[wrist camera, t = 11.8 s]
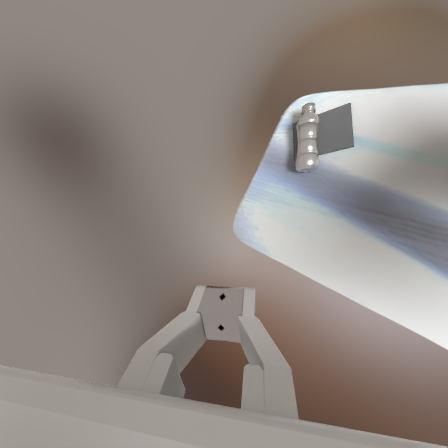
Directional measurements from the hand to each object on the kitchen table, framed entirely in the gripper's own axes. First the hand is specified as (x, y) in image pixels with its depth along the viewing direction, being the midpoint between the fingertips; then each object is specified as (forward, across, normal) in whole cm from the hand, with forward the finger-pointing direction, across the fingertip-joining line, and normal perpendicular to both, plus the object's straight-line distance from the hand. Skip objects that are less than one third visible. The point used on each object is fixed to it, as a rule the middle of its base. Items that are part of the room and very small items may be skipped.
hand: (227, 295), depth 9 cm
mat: (+60, +22, +6) cm, 64 cm away
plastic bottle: (+53, +16, -4) cm, 55 cm away
